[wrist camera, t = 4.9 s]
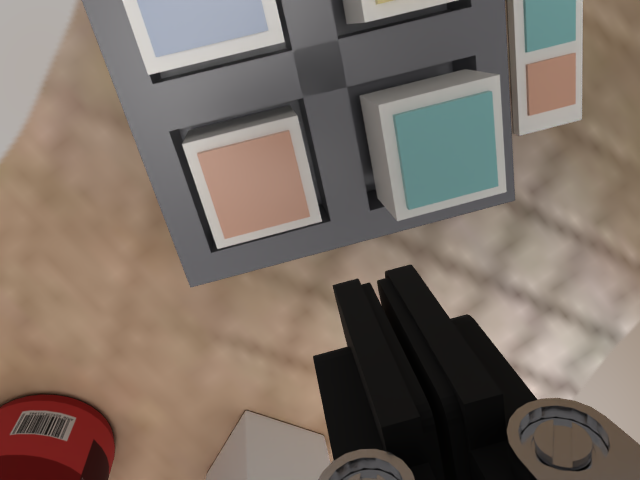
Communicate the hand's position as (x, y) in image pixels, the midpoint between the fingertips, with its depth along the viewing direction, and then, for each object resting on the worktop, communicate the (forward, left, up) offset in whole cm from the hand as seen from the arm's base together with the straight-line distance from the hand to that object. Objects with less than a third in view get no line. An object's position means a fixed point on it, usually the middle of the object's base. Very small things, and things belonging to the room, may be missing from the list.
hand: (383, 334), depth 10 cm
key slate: (+2, -8, -14) cm, 16 cm away
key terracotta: (+2, 0, -16) cm, 16 cm away
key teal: (-6, 0, -14) cm, 15 cm away
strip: (-14, -4, -17) cm, 22 cm away
